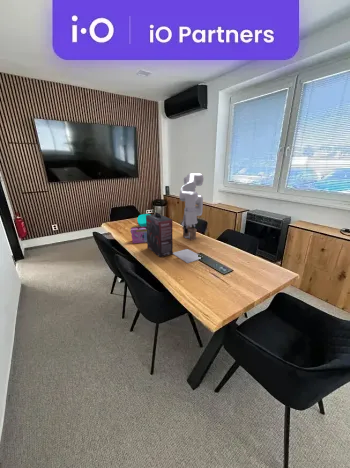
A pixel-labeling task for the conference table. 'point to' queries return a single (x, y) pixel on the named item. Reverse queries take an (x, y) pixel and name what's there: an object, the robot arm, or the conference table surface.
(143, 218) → the table top decor
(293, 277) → the conference table surface
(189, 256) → the grey pad
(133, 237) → the gum box
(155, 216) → the headset box
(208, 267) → the conference table surface
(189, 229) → the walnut stool
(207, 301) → the conference table surface
